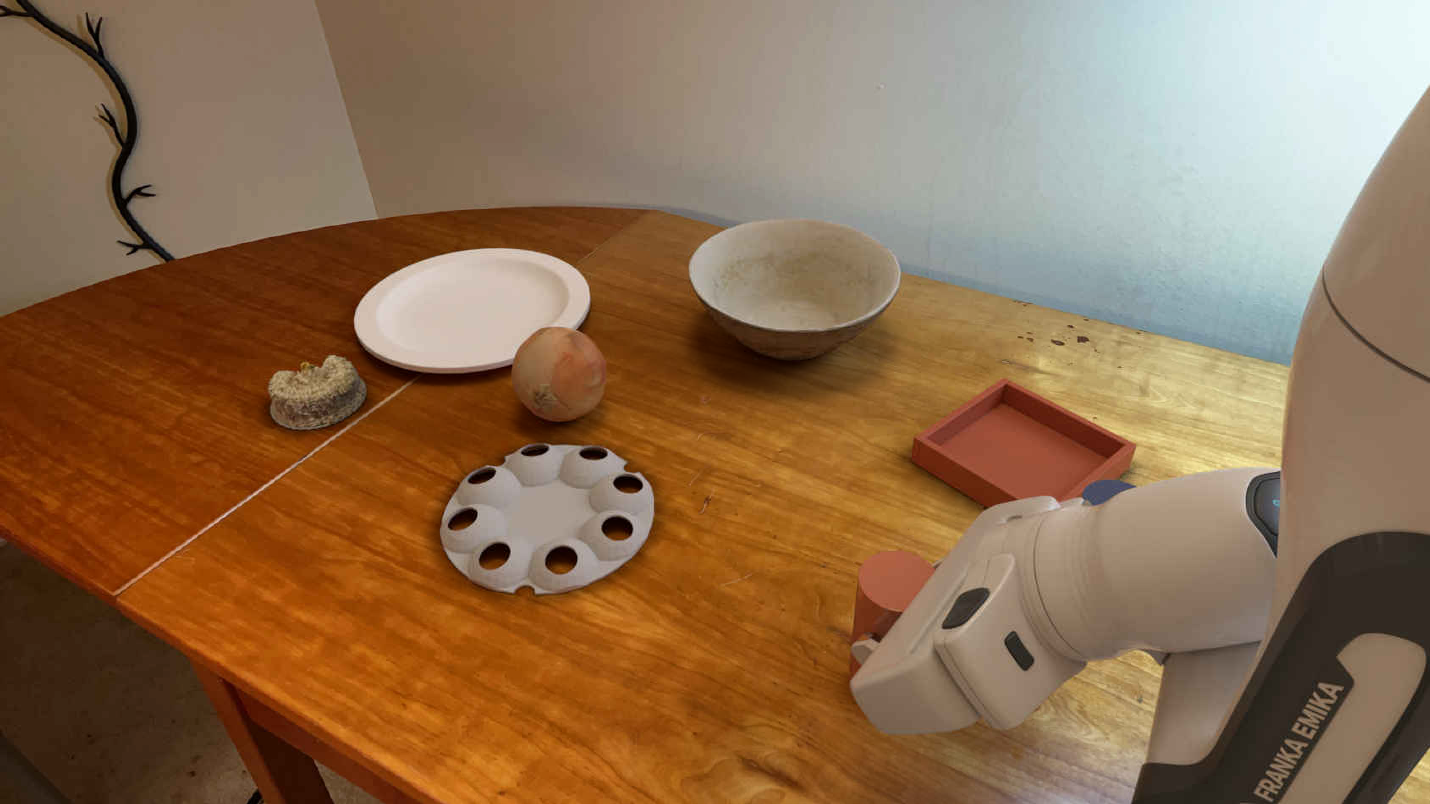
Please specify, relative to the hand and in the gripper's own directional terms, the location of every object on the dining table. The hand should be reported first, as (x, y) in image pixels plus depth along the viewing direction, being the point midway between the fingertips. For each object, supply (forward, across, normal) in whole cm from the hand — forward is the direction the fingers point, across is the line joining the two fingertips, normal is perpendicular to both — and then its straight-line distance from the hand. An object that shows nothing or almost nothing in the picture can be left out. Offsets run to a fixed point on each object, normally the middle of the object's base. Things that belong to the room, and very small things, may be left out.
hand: (884, 619), depth 65 cm
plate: (+51, -16, -42) cm, 68 cm away
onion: (+35, -9, -26) cm, 45 cm away
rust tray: (+6, -30, +4) cm, 31 cm away
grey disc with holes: (+28, +2, -19) cm, 34 cm away
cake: (+51, +6, -42) cm, 66 cm away
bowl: (+28, -36, -18) cm, 49 cm away
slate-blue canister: (-2, -19, +12) cm, 22 cm away
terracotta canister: (+3, 0, +4) cm, 5 cm away
